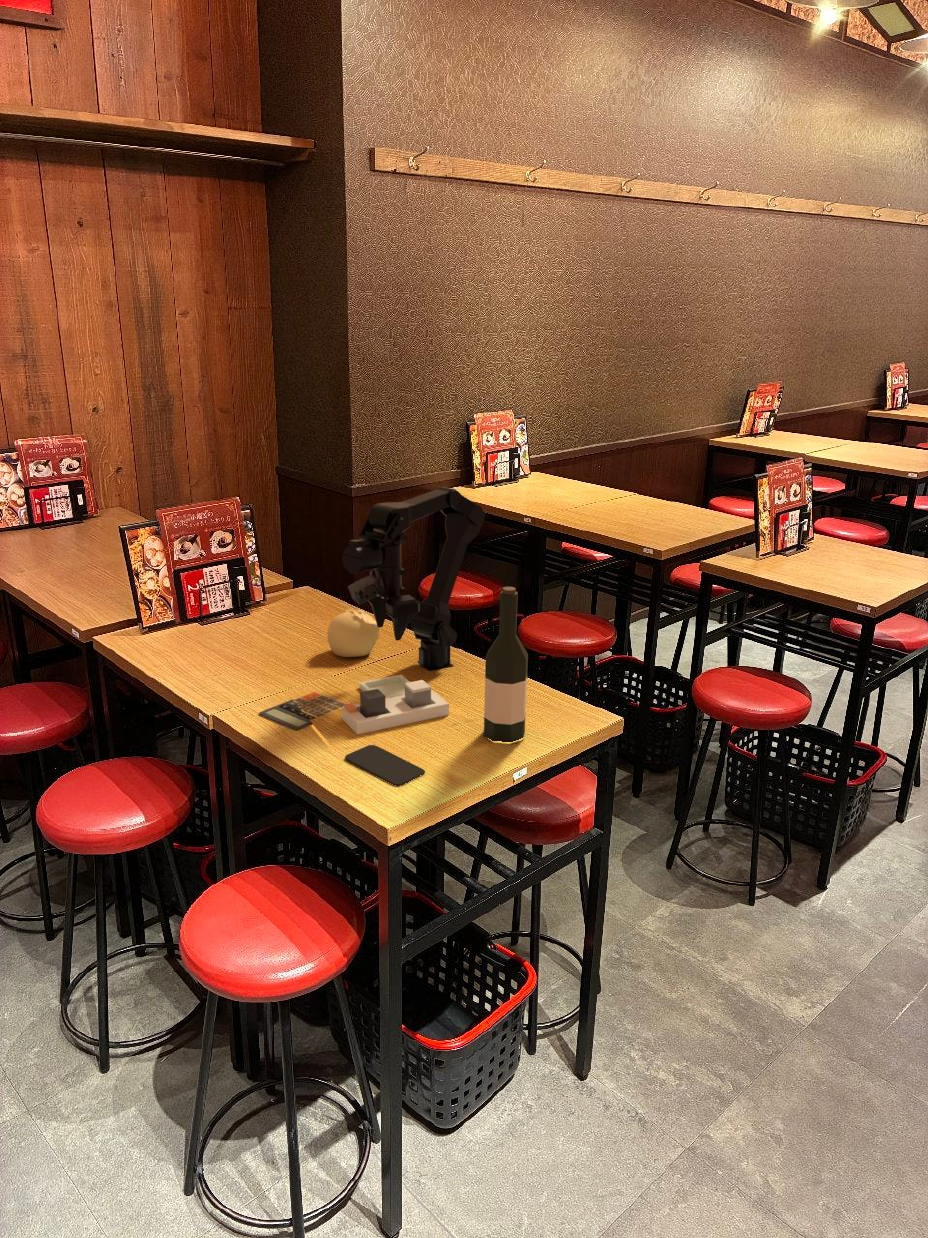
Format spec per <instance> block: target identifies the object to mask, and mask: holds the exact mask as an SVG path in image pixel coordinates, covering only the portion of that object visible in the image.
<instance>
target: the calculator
mask: <svg viewBox="0 0 928 1238" xmlns="http://www.w3.org/2000/svg"><path fill="white" fill-rule="evenodd" d="M344 704H345V703H343V702H340V701H338V700H335V699H333V698H329V697H328V696H325V695H323V694H320V693H318V692H315V691H313V692H311V693H308V694H306V695H303V696H301V698H300V697H298V698H296V699H294V700H293V699H289V700H288V701H284V702H282V703H280V704H277V705H274V706H272V707H270V708H267V709H265V710H264V709H263V710H261V711H259V712H258V715H259V714H260V715H259V716H261V715H262V716H261V717H263V716H264V717H263V718H265V717H266V718H265V719H267V718H268V719H267V720H270V721H272V722H274V723H276V724H279V725H282V726H283V727H286V728H288V729H291V730H292V731H295V732H297V731H301V729H305V728H307V727H309V726H312V725H314V724H313V722H312V721H311V720H314V719H317V717H322V716H323V715H325V714H327V713H330V712H332V711H336V710H338V709H339V708H342V707H344ZM313 715H314V716H313ZM315 716H316V717H315Z"/></svg>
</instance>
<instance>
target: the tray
mask: <svg viewBox="0 0 928 1238" xmlns="http://www.w3.org/2000/svg"><path fill="white" fill-rule="evenodd" d="M408 682H411V681H410V680H408V679H407V677H405V676H404V675H403V674H397V675H392V676H387V677H386V676H385V677H381V678H377V679H376V678H375V679H371V680H365V681H361V682H358V683H359V685H358V686H359V687H358V688H359V689H360V690H362V691H361V692H364V691H369V690H374V689H378V690H380V691H381V692H382V693H383V694H384V695H385V699H386V698H391V697H396V696H401V695H405V683H408Z"/></svg>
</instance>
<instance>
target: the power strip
mask: <svg viewBox="0 0 928 1238" xmlns="http://www.w3.org/2000/svg"><path fill="white" fill-rule="evenodd" d="M359 701H360V703H356V704H353V702H349V703H346V704H345V703H343V704H344V706H342V707H341V713H342V714H341V715H342V717H341V718H342V720H343V721H344V722H345V723H346V724H347V726H349V728H350V729H352V731H353V732H354V733H355V734H356V735H357V736H358V735H362V734H367V733H372V732H377V731H382V730H387V729H391V728H395V727H399V726H404V725H408V724H409V725H410V724H413V723H414V724H415V723H419V722H423V721H428V720H431V719H436V718H442V717H446V716H450V702H448V701H447V700H445V699H444V698H443V697H442V696H441V695H439V694H438V693H436V692H435V691H434V690H433V689H432V688H431V705H426V706H421V707H416V708H411V707H410V706H408V705H407V704H406V703H405V695H401V696H396V697H391V698H386V699H385V695H384V694H383V693H382V692H381V691H380V690H378V689H374V690H369V691H360V692H359Z"/></svg>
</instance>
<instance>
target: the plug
mask: <svg viewBox="0 0 928 1238" xmlns="http://www.w3.org/2000/svg"><path fill="white" fill-rule="evenodd" d="M431 689H432V686H431V685H429V683H428V682H426V681H425V680H423V679H420V680H415V681H410V682H408V683H405V703H406V704H407V705H408V706H410V707H411V708H416V707H421V706H426V705H431Z"/></svg>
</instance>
